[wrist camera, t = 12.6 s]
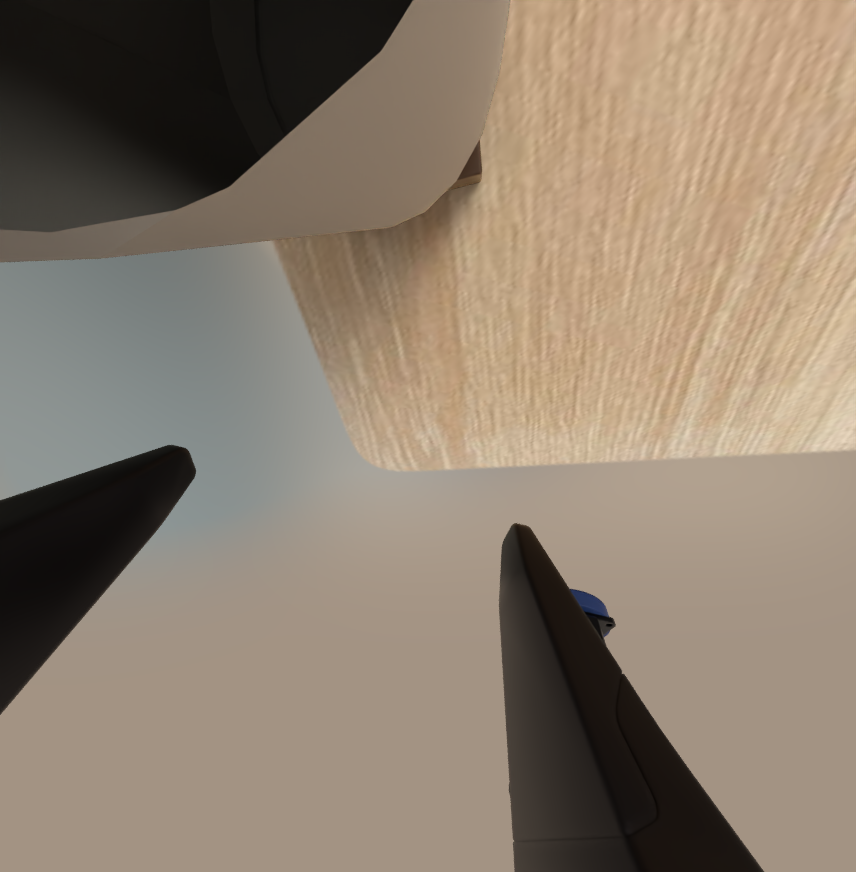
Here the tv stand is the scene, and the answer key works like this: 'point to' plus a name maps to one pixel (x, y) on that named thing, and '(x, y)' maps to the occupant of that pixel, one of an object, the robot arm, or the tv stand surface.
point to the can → (233, 118)
